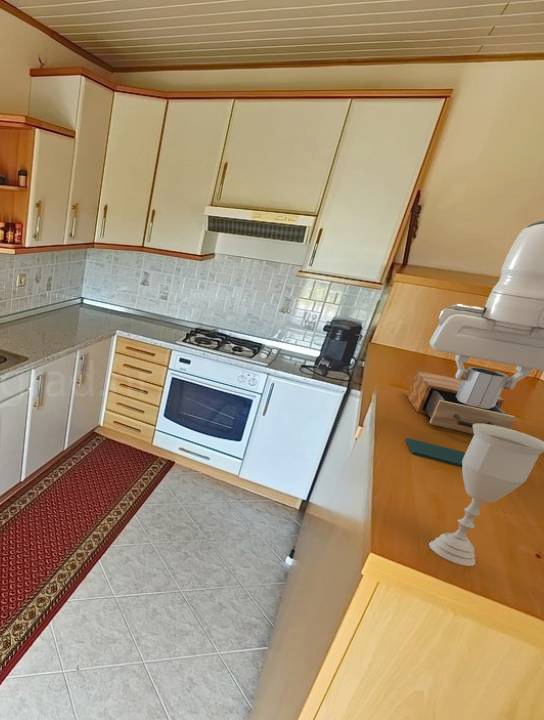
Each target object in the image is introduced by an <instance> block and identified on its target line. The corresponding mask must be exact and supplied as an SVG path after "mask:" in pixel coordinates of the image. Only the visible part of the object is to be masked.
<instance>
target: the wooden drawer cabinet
mask: <svg viewBox="0 0 544 720" xmlns="http://www.w3.org/2000/svg"><path fill="white" fill-rule="evenodd" d="M462 381H463V380H461V379H456V378H455V377H451V376H446V375H440V374H435V373H430V372H426V371H422V370H421V371H420V370H417V371H416V373H415V375H414V378H413V381H412V383H411V386H410V388H409V390H408V394H407V395H406V397H407V398H408V400H409V402H410V403H411V405H412V407H413V408H414V410H415V411H416V413H417V414H422V415H427V416H429V415H428V413H427V412H426V410H425V409H424V404H425V402H426V399H427V397H428V395H429V392H430V390H431V388H433V389H437V390H442V391H447V392H452V393H456V394H457V393H458V390H459V388H460V386H461V383H462ZM504 401H505V399H504V398H502V397H501V395H500V396H499V398H498V400H497V402H496V404H497V405H498V406H499V407H500V408H501V409H502V406H503V404H504Z"/></svg>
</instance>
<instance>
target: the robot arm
mask: <svg viewBox="0 0 544 720" xmlns="http://www.w3.org/2000/svg"><path fill="white" fill-rule="evenodd" d="M500 271H501V272H500V277H499V280H498V282H497V283H496V284H495V285H494V286H493V288H492V289H491V292H490V294H489V296H488V298H487V301H486V303H485V305H484V307H483V306H477V305H466V304H463V303H454V304H451V305H447V306H446V307H444V308H443V309H442V310H441V312H440V314H439V316H438V325H437V327H436V329H435V330H434V331H433V334H432V336H431V337H430V340H429V345H430V347H431V348H432V350H434V351H436V352H440V353H446V354H451V355H455V358H454V360H455V364H456V367H457V371H456V372H455V377H454V378H456V379H461V380H467V378H468V377H467V376H469V374H470V372H469V371H468V369H465V365H464V363H468V360H469V358H472V359H478V360H482V361H488V362H494V363H498V364H504V365H510V366H514V367H515V366H516V368H515V371H517V372H516V373H514V374H512V376H510V377H508V379H507V381H506V383H505V385H504V387H503V389H505V390H510V391H512V390H514V389H515V387H516V385H517V382H520V381H521V380H523V379H524V378H526V377H528V376H529V375H530V374H531V372H532V371H533V370H536V371H542V372H544V220H540V221H536V222H533V223H531V224H529V225H528V226H525V227H524V228H523V229H522V230H521V231H520V232H519V234H518V235H517V236H516V238H515V240H514V242H513V243H512V246H511V247H510V249H509V251H508V252H507V255H506V257H505V259H504V262H503V264H502V266H501V270H500Z"/></svg>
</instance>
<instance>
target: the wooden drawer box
mask: <svg viewBox="0 0 544 720" xmlns="http://www.w3.org/2000/svg"><path fill="white" fill-rule="evenodd" d="M456 395H457V394H456V393H452V392H447V391H442V390H437V389H433V388H431V390H430V392H429V395H428V397H427V399H426V402H425V404H424V409H425V410H426V412H427V413H428V415H427V416H429V418H430V420H429V424H430V425H433V426H437V427H441V428H446V429H450V430H454V431H457V432H463V433H467V434H471V435H474V431H473V424H477V423H479V424H489V425H495V426H499V427H504V428H508V429H512V426H513V424H514V423H515V420H516V416H515V415H511V414H508V413H507V412H506V411H505V410H503V409H502V407H501V408H500V407H499V406H498V405H497V404H496V405H495V407H491V408H490V409H485V408H479V407H474V406H470V405H467V404H464V403H462V402H460V401H458V399H457V397H456Z"/></svg>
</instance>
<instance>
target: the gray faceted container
mask: <svg viewBox="0 0 544 720" xmlns="http://www.w3.org/2000/svg"><path fill="white" fill-rule="evenodd" d="M467 370H468V371H469V372H470V374H469V376H467V377H468V378H467V380H463V381H462V383H461V386H460V388H459V390H458V393H457V395H456V397H457V399H458V401H460V402H462V403H464V404H467V405H470V406H474V407H479V408H485V409H490V408H491V407H495V405H496V402H497V400H498V398H499V396H500V397H501V394H502V391H503V390H504V388H503V387H504V385H505V383H506V381H507V379H508V378H509V376H508V375H507V374H505V373H502V372H499V371H495V370H492V369H487V368H482V367H475V366H470V367H467Z"/></svg>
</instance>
